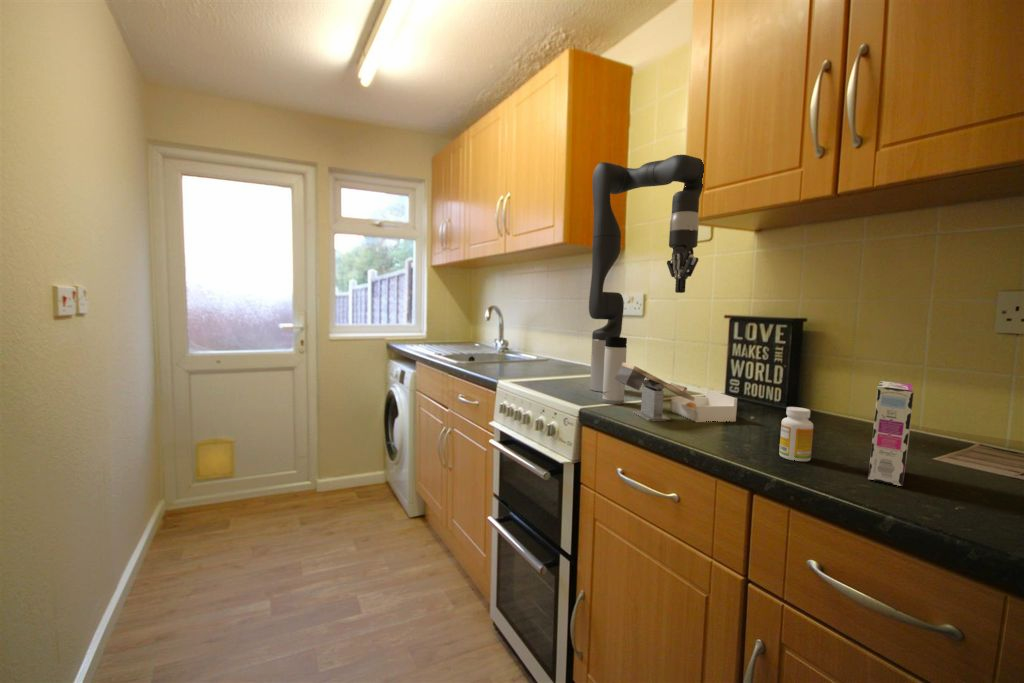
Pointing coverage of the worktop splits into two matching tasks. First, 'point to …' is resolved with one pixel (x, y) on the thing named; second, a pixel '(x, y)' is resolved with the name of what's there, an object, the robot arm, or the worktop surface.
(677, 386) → the lever
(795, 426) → the supplement bottle
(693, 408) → the ball
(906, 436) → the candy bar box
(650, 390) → the fulcrum
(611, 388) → the travel mug
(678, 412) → the tray
